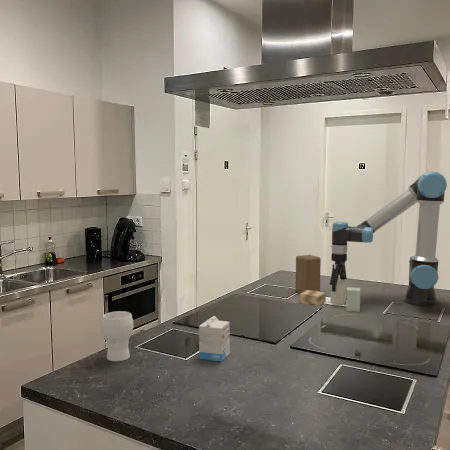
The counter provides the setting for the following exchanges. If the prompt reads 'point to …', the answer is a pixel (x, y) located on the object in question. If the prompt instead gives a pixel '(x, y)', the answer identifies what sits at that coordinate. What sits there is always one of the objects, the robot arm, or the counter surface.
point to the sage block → (353, 299)
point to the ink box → (214, 340)
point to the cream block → (340, 293)
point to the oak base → (312, 297)
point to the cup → (117, 334)
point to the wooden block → (307, 273)
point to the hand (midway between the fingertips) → (338, 294)
